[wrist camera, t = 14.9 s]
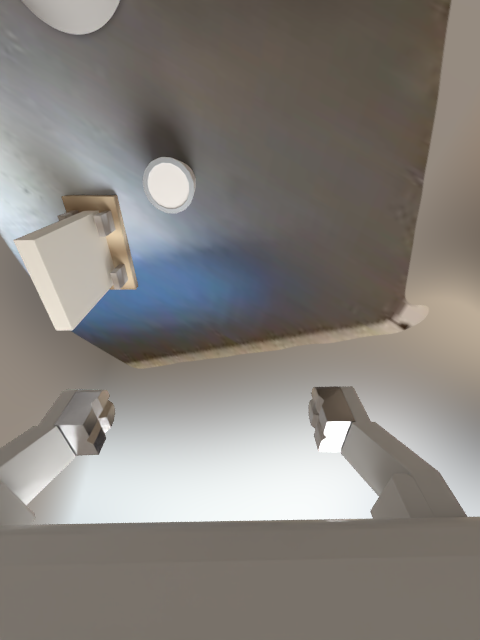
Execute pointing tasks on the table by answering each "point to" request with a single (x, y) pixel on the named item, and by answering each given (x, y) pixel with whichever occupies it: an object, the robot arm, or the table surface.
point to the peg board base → (107, 233)
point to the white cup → (169, 184)
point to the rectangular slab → (68, 267)
